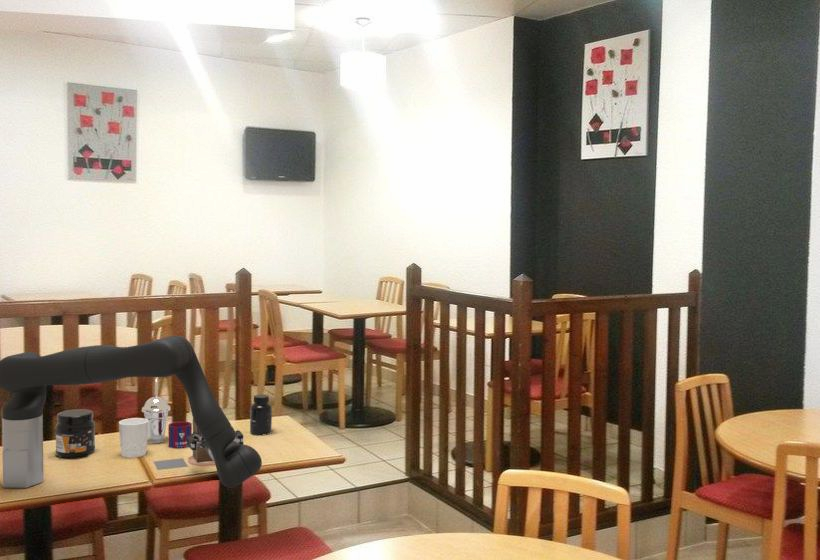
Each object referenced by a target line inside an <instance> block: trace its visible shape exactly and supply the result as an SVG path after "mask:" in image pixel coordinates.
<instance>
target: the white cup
mask: <svg viewBox="0 0 820 560" xmlns="http://www.w3.org/2000/svg"><path fill="white" fill-rule="evenodd" d="M118 429H119V443H120V445H119V446H120V455H121V457H123V458H129V459H130V458H132V459H133V458H139V457H144V456H145V455H146V454H147V446H148V420H147V419H145V417H144V418H143V417H131V418H130V417H129V418H125V419H121V420H119V421H118Z"/></svg>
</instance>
